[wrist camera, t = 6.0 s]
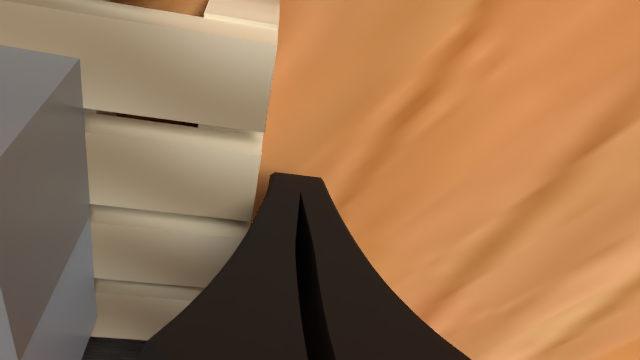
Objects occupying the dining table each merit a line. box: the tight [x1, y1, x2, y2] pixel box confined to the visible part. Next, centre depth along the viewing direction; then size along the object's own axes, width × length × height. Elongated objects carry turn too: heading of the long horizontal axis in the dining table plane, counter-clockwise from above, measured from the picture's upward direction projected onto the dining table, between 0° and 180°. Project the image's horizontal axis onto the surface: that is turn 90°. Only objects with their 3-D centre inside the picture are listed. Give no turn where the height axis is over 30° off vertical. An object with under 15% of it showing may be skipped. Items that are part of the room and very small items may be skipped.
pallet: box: [0, 0, 280, 340], centre depth 13 cm, size 10×9×3 cm
